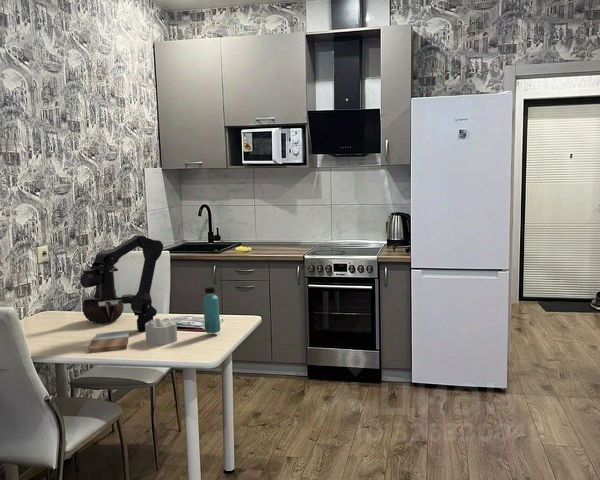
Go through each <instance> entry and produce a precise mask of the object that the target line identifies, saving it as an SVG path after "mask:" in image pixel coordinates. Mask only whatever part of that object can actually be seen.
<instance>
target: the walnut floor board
mask: <svg viewBox="0 0 600 480" xmlns="http://www.w3.org/2000/svg"><path fill="white" fill-rule="evenodd" d="M128 344H129V337H121V338H110V339H100V340H94V339H93V340H91V344H90V346H89V349H88V350H89V353H90V354H91V353H92V352H93V353H101V352H100V351H103V352H110V351H111V350H113V351H121V350H127V348H128ZM109 350H110V351H109ZM93 353H92V354H93Z"/></svg>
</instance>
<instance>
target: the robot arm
mask: <svg viewBox="0 0 600 480" xmlns="http://www.w3.org/2000/svg"><path fill="white" fill-rule="evenodd" d="M138 247H139V248H140V249H142V255H143V259H144V260H143V261H144V262H143V266H142V271H141V276H140V279H139V280H140V281H139V285H138V286H139V287H138V289H137V290H138V291H137V292H136V293H135V294H130V293H129V294H122V295H121V296H117V290H116V287H115V286H116V284H115V272H118V271H119V269H118V268H117V267H116V266H115V265H116V264H117V263H118V262H119V261H120V259H121V258H122V257H123V256H126V255H127V254H128V253H130V252H132V251H133V250H135V249H136V248H138ZM163 250H164V244H163V242H162V241H161V240H158V239H151V238H149V237H146V236H144V235H139V234H136V235H133V236H132V237H130V238H129V239H127V240H126V241H124V242H122V243H120V244H119V245H117V246H116V247H113V248H111V249H107V250H103V251H99V252H98V253H97V254H96V255H95V258H94V261H93V262H92V265H91V266H90V268H89V269H86V270H85V269H84V270H82V274H81V276H80V279H79V282H80V285H81V286H82V288H85V289H86V288H87V289H88V288H93V287H96V286H98V285H100V288H98V295H99V296H101V299H95V297H93V296H90V297H85V298H84V299H83V300H82V308H83V307H91V306H92V305H93V304H99V308H101V309H102V310H103V311H104V313H105V315H106V317H107V319H108V321H109V322H110V321H111V319H112V314H113V311H114V308H115V307H117V306H118V302H122V303H123V305H126V304H130V309H131V310H132V312H133V314H134V316H136V317H137V319H136V329H137V330H138V332H139V333H140V332H146V330H145V324H146V323H147V322H149V321H150V320H154V317H155V316H157V314H158V310H157V309H156V308H155V307H153V304H152V303H153V299H152V297H151V289H152V283H153V279H154V274H155V268H156V263H157V260H158V259H159V258H160V257H161V256H162V253H163ZM99 266H101V267H99ZM116 296H117V297H116ZM106 300H107V301H106ZM107 303H111V304H110V315H109V311H108V304H107Z"/></svg>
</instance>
